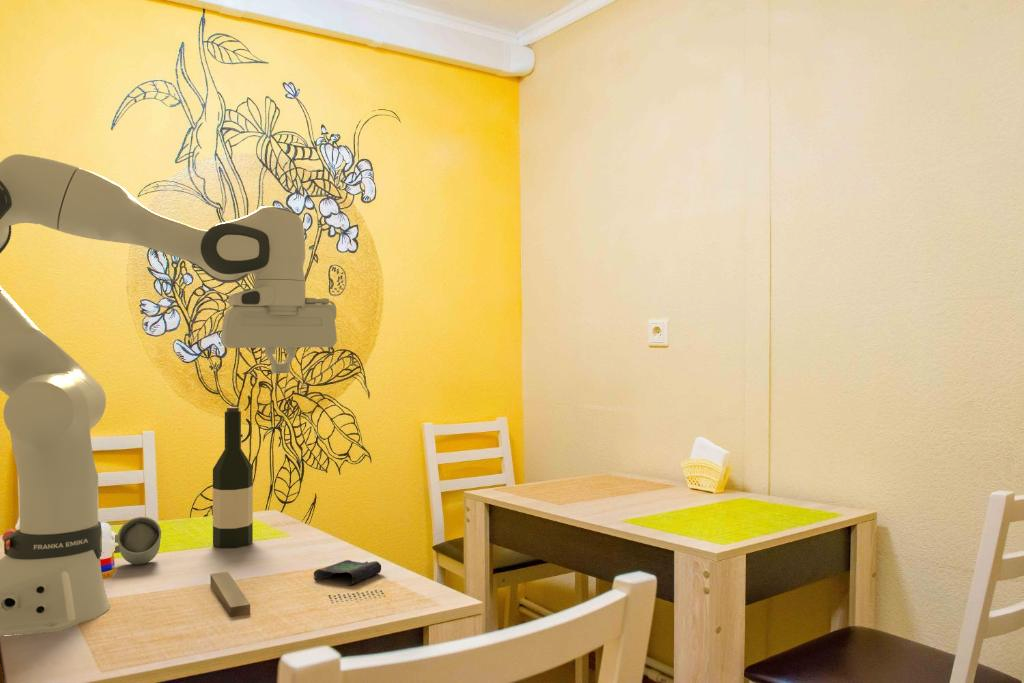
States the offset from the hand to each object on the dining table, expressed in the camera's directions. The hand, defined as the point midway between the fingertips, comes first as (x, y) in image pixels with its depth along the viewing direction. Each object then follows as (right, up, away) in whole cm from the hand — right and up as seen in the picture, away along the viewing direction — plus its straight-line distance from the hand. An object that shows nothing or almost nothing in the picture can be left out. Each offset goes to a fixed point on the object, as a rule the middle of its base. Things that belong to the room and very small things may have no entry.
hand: (280, 373), depth 144 cm
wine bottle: (-19, -39, +31) cm, 53 cm away
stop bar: (-6, -39, -10) cm, 41 cm away
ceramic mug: (-33, -39, +13) cm, 53 cm away
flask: (+11, -40, -1) cm, 41 cm away
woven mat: (+17, -40, -11) cm, 45 cm away
